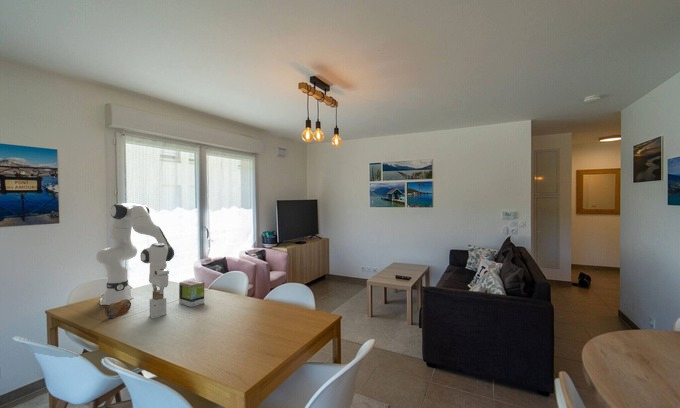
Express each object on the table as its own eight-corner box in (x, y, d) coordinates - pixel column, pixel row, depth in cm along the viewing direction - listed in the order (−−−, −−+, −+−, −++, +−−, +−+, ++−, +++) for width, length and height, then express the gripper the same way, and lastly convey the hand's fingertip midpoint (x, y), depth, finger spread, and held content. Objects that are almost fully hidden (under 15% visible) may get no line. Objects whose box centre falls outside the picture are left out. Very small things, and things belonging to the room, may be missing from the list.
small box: (164, 312, 181) (164, 295, 181) (166, 314, 177) (166, 297, 177) (149, 315, 175) (149, 298, 175) (151, 318, 171) (151, 300, 171)
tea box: (204, 303, 198) (205, 281, 198) (190, 307, 190) (190, 285, 190) (192, 299, 206) (192, 278, 206) (178, 303, 198) (178, 282, 198)
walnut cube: (152, 298, 176) (152, 291, 176) (160, 296, 179) (160, 289, 179) (155, 300, 173) (155, 292, 173) (163, 298, 177) (163, 290, 177)
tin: (108, 319, 169) (108, 305, 169) (103, 319, 170) (103, 305, 170) (131, 310, 184) (131, 297, 184) (127, 310, 185) (127, 297, 185)
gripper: (146, 268, 180) (146, 290, 180) (158, 273, 168) (158, 296, 168) (157, 266, 185) (157, 288, 185) (170, 271, 173) (170, 294, 173)
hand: (158, 292), depth 176 cm, fingers open, 8 cm apart
